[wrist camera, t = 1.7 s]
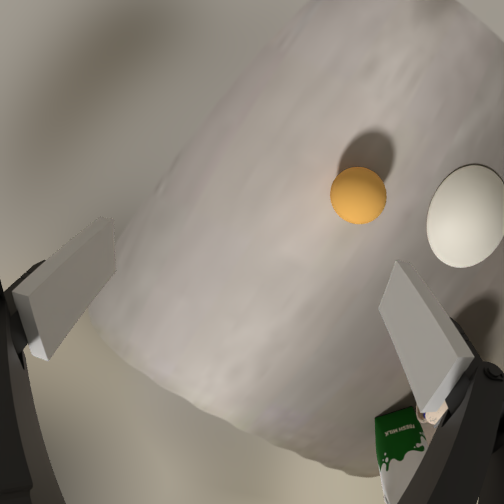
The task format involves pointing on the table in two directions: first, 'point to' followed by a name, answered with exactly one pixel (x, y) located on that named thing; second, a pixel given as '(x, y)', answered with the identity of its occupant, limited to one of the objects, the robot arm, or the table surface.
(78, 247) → the robot arm
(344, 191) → the ball
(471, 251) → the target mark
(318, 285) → the table surface
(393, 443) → the milk carton
